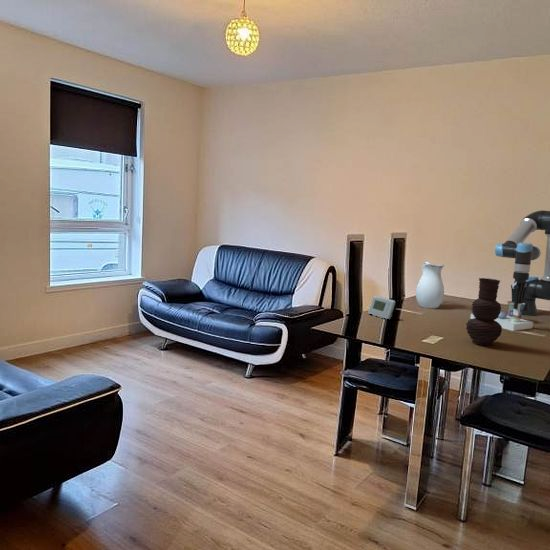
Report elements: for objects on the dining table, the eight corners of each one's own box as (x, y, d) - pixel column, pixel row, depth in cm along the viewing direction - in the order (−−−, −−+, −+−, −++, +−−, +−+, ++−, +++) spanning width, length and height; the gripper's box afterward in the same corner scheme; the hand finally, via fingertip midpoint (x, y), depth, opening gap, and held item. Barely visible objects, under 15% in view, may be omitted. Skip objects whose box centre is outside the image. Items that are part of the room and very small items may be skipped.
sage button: (512, 324, 269) (513, 317, 269) (521, 327, 265) (522, 319, 265) (507, 325, 267) (508, 318, 266) (515, 327, 263) (516, 320, 262)
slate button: (499, 318, 276) (500, 311, 275) (507, 320, 272) (508, 313, 271) (494, 319, 273) (495, 312, 272) (502, 321, 269) (503, 314, 268)
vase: (482, 349, 217) (490, 282, 212) (456, 339, 230) (464, 276, 226) (507, 347, 223) (516, 282, 219) (481, 338, 237) (488, 276, 233)
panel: (489, 317, 288) (490, 311, 288) (532, 328, 267) (533, 321, 266) (470, 319, 279) (470, 313, 278) (513, 330, 257) (514, 324, 256)
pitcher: (446, 310, 303) (451, 265, 299) (418, 308, 303) (423, 263, 299) (434, 302, 326) (438, 261, 323) (408, 301, 326) (413, 259, 323)
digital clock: (366, 314, 277) (368, 295, 276) (379, 313, 280) (381, 295, 279) (382, 320, 262) (384, 301, 261) (396, 320, 266) (398, 301, 264)
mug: (520, 323, 277) (523, 305, 276) (503, 320, 283) (505, 302, 281) (525, 320, 287) (527, 302, 285) (508, 317, 292) (510, 300, 291)
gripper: (521, 270, 268) (516, 312, 272) (507, 271, 261) (502, 314, 265) (535, 272, 262) (529, 315, 266) (521, 273, 255) (515, 317, 259)
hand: (516, 315), depth 265 cm, fingers closed
